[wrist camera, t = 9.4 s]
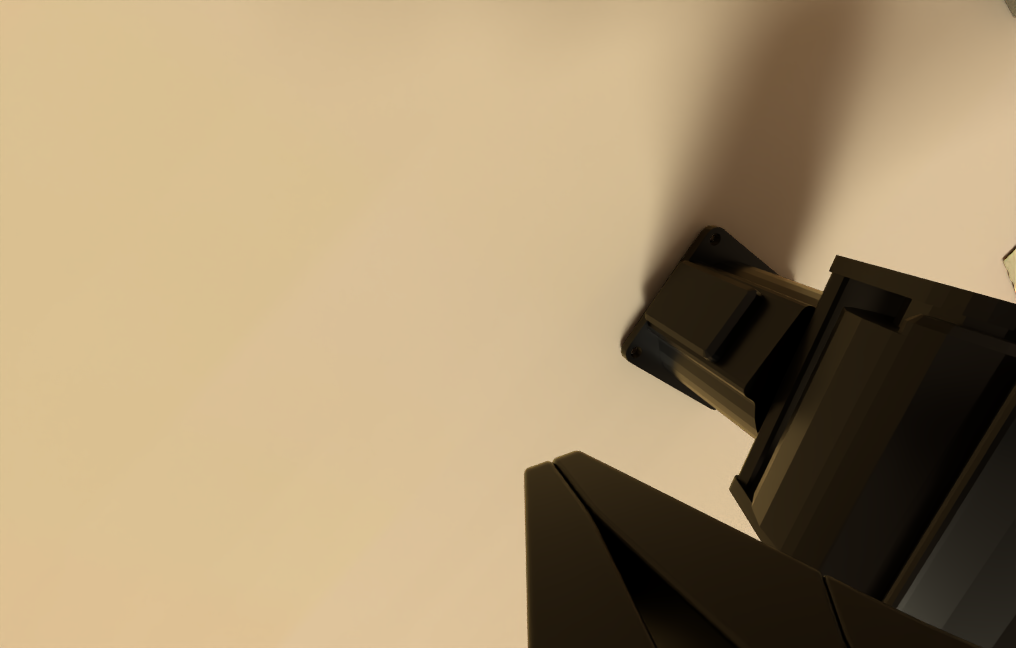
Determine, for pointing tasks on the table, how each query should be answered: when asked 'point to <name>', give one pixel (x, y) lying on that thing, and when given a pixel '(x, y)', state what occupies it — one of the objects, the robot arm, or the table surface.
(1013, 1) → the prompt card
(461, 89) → the table surface
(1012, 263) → the condiment
